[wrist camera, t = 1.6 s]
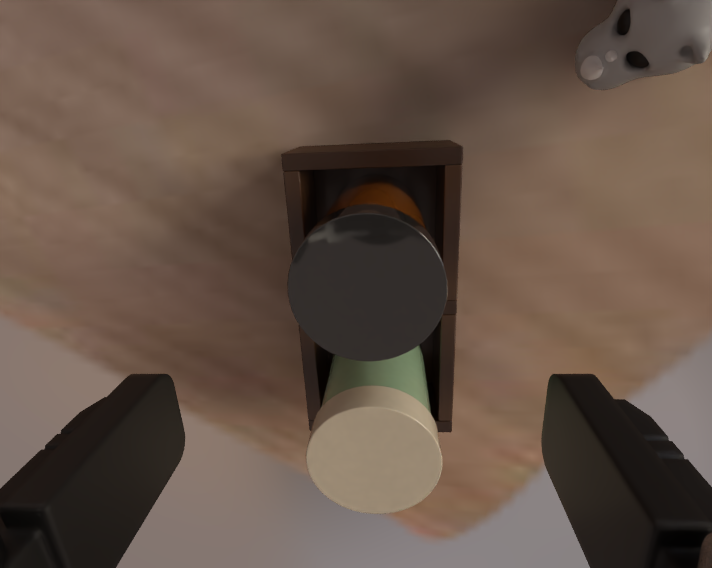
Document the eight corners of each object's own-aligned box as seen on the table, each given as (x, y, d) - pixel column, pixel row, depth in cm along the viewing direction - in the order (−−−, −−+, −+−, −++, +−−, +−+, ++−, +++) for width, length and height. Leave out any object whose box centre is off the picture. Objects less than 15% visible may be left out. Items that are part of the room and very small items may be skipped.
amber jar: (324, 172, 25) (278, 215, 15) (425, 168, 24) (450, 210, 14) (330, 266, 27) (295, 362, 17) (424, 264, 26) (445, 362, 16)
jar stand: (299, 146, 25) (280, 153, 21) (450, 139, 24) (463, 146, 20) (320, 386, 31) (309, 431, 27) (443, 387, 30) (451, 432, 26)
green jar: (333, 297, 28) (299, 406, 17) (423, 295, 27) (444, 407, 17) (338, 374, 30) (311, 512, 19) (423, 374, 29) (440, 516, 19)
